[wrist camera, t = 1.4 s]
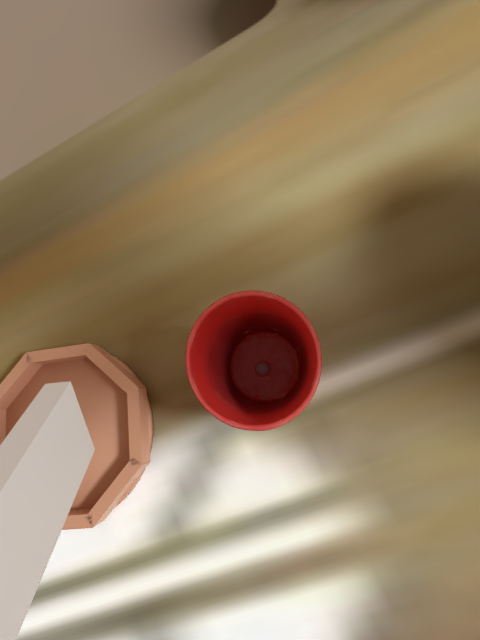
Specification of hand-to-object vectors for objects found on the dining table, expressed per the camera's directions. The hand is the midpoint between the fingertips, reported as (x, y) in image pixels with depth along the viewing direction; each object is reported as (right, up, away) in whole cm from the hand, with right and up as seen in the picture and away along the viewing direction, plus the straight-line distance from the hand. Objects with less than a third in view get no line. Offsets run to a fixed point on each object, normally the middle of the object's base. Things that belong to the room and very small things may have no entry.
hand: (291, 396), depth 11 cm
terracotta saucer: (-19, -10, +28) cm, 36 cm away
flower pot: (+1, -3, +27) cm, 27 cm away
